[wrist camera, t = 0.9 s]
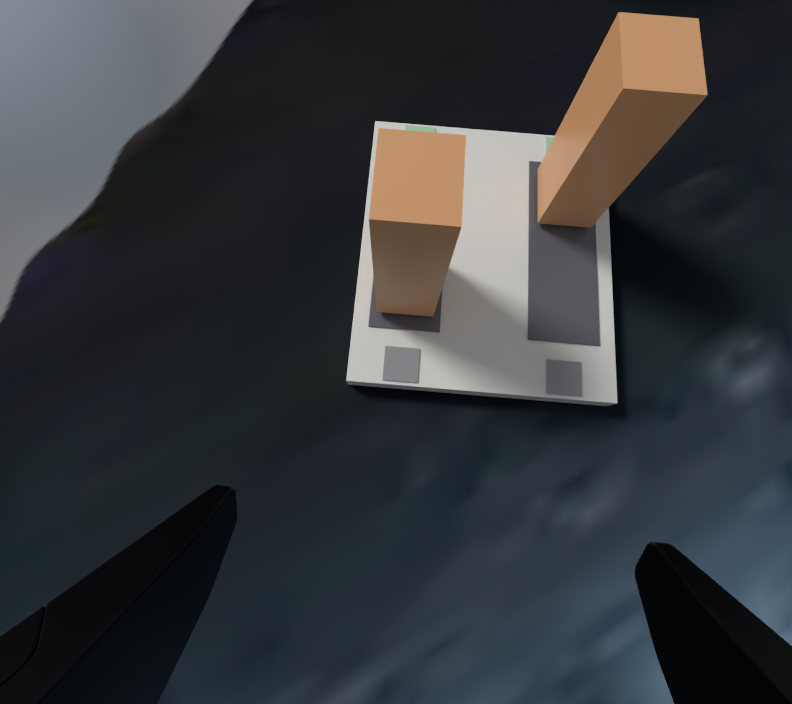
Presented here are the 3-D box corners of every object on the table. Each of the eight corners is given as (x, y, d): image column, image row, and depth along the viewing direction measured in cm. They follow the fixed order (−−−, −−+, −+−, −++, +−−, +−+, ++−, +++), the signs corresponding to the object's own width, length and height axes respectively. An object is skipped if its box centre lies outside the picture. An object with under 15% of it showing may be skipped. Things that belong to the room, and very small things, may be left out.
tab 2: (590, 227, 24) (707, 95, 15) (537, 223, 24) (623, 88, 15) (589, 173, 25) (698, 18, 16) (537, 169, 25) (618, 12, 16)
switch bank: (605, 406, 23) (618, 403, 22) (348, 384, 23) (346, 380, 22) (596, 153, 27) (606, 138, 26) (375, 135, 27) (375, 120, 26)
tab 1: (433, 316, 22) (461, 226, 14) (376, 311, 22) (368, 219, 14) (437, 256, 23) (466, 135, 15) (382, 251, 23) (378, 128, 15)
